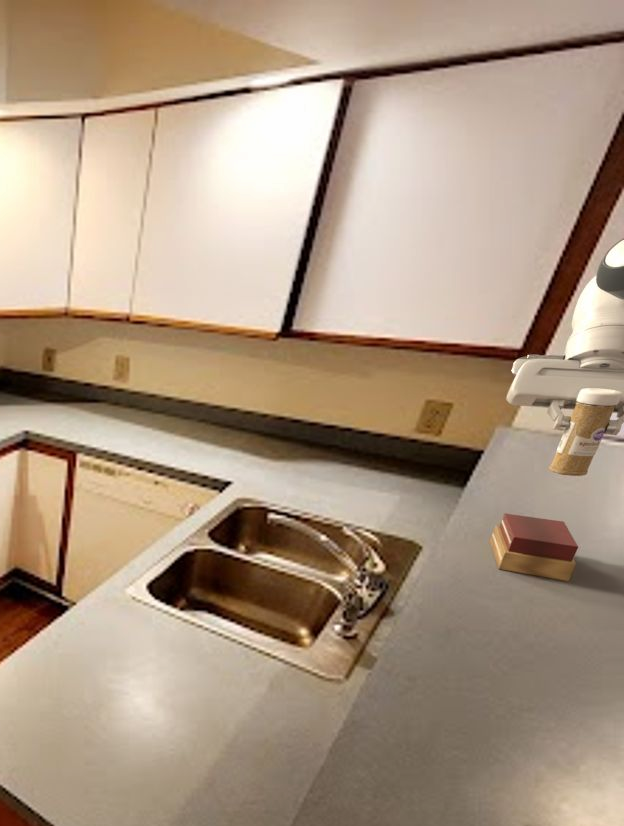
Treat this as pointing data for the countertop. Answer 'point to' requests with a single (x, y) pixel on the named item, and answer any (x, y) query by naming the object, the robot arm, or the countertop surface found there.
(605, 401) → the sprinkles bottle
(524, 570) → the red and wooden block
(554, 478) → the countertop surface
